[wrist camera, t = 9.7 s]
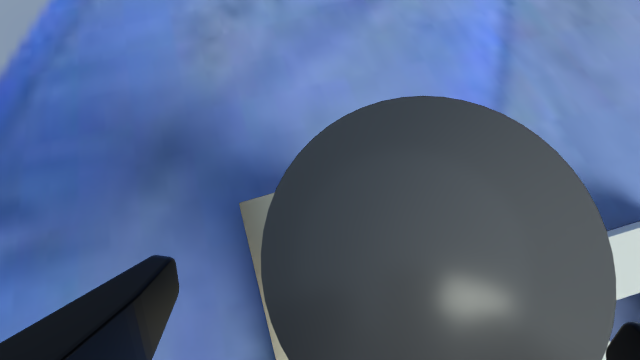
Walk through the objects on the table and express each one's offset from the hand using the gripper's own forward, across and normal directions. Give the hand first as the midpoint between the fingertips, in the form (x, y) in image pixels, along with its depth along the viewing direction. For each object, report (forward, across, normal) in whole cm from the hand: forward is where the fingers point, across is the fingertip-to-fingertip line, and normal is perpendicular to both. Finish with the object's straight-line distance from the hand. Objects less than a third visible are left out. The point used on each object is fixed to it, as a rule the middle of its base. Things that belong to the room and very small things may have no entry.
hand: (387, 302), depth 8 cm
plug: (+7, 0, +6) cm, 9 cm away
